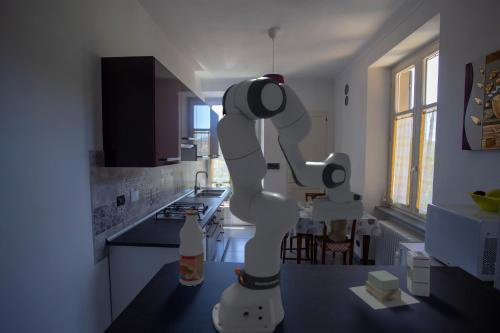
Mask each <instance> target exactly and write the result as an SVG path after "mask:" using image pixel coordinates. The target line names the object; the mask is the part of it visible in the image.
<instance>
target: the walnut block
mask: <svg viewBox="0 0 500 333" xmlns="http://www.w3.org/2000/svg"><path fill="white" fill-rule="evenodd" d="M329 224H330V226H331V227H333V232H328V239H329V240H331V241H333V242H336V243H338V242H346V241H347V239H346V237H347V236H346V234H347V231H346V220H334V221H331V223H329Z"/></svg>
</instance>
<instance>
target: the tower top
mask: <svg viewBox="0 0 500 333" xmlns="http://www.w3.org/2000/svg"><path fill="white" fill-rule="evenodd" d="M367 281H368V282H369V283H371V284H372V285H373V286H375V287H376V288H378V289H379V290H381V291H388V290H395V289H399V288H400V278H399V277H396V276H395V275H393V274H392V273H390V272H388V271H386V269H385V270H376V271H369V272H367Z"/></svg>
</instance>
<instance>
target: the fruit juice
mask: <svg viewBox="0 0 500 333" xmlns="http://www.w3.org/2000/svg"><path fill="white" fill-rule="evenodd" d="M184 215H185V221H184V224H183V226H182V228H180V231H179V239H180V244H179V253H178V254H179V256H178V257H179V283H181V284H183V285H187V286H192V285H197V284H200V283H201V282H202V281H203V280H205V244H204V242H203V239H204V229H203V228H202V226H201V225H200V223H199V221H198V215H199V212H198V210H196V209H195V210H194V209H192V210H191V209H190V210H185V213H184ZM203 282H204V281H203ZM203 282H202V283H203ZM202 283H201V284H202ZM181 284H180V285H181ZM201 284H200V285H201ZM183 285H182V286H183Z"/></svg>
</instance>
